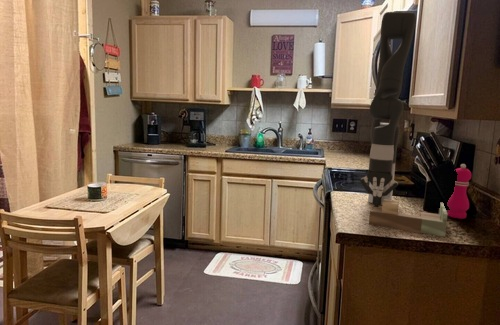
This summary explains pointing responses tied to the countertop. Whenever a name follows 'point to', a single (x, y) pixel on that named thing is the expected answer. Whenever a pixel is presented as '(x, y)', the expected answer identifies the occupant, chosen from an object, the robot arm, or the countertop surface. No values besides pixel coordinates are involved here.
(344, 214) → the countertop surface
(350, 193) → the countertop surface
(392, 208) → the maple block
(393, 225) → the box
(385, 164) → the robot arm
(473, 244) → the countertop surface
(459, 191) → the pepper mill
